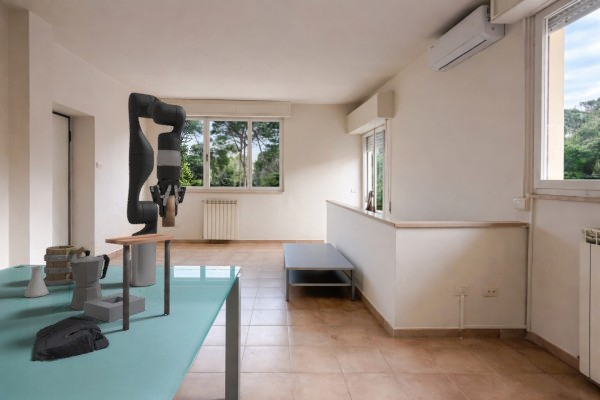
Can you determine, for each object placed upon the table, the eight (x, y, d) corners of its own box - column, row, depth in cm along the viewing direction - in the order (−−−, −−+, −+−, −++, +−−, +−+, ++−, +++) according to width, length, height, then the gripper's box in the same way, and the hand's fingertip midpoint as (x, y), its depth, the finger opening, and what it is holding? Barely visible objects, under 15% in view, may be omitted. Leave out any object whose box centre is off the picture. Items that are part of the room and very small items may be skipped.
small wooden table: (104, 325, 103) (105, 239, 102) (152, 309, 117) (152, 233, 116) (126, 331, 98) (126, 241, 98) (172, 314, 112) (173, 235, 112)
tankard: (35, 283, 146) (35, 245, 146) (66, 276, 158) (66, 241, 158) (70, 289, 139) (70, 249, 138) (100, 281, 151) (100, 244, 150)
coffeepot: (80, 313, 112) (81, 254, 111) (57, 310, 115) (57, 252, 114) (119, 299, 126) (120, 247, 126) (98, 296, 129) (98, 245, 129)
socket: (83, 315, 110) (83, 301, 110) (119, 304, 121) (120, 292, 121) (109, 322, 105) (109, 308, 105) (144, 310, 115) (145, 298, 115)
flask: (53, 294, 132) (53, 266, 132) (31, 299, 125) (31, 270, 125) (41, 291, 135) (41, 264, 135) (19, 296, 128) (19, 267, 128)
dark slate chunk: (100, 323, 106) (100, 306, 106) (110, 351, 88) (110, 331, 88) (34, 333, 97) (34, 315, 97) (31, 367, 79) (31, 345, 79)
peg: (159, 226, 122) (159, 196, 122) (168, 225, 125) (169, 196, 125) (167, 227, 120) (168, 196, 120) (177, 226, 124) (177, 196, 123)
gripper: (177, 166, 130) (176, 215, 131) (142, 163, 118) (142, 217, 118) (192, 166, 127) (192, 216, 127) (159, 163, 114) (158, 218, 115)
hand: (168, 216), depth 123 cm, fingers closed on peg, 4 cm apart
